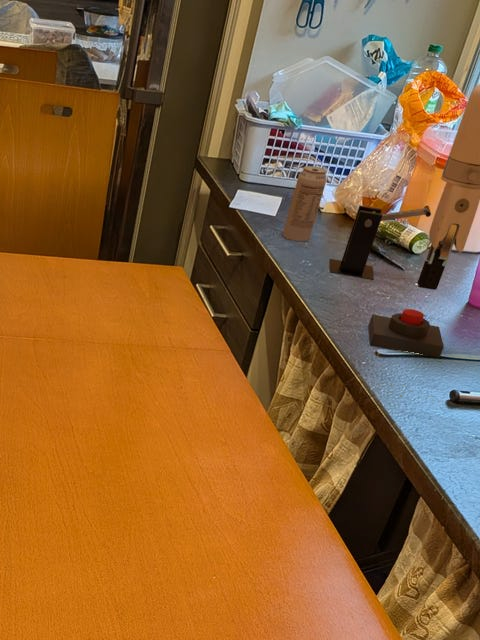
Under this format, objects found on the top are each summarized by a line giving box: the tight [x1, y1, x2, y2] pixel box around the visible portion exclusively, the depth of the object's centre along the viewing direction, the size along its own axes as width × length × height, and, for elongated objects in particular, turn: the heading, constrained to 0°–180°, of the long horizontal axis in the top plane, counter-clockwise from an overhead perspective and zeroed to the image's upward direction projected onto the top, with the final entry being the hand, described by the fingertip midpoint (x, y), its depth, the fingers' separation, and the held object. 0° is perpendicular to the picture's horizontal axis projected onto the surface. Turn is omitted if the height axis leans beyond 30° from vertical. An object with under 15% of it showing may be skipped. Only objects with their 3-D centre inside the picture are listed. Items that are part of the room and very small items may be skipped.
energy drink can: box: [282, 165, 328, 243], centre depth 204 cm, size 6×6×15 cm
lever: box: [371, 205, 432, 222], centre depth 186 cm, size 13×5×2 cm, turn 74°
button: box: [400, 308, 425, 325], centre depth 165 cm, size 4×4×2 cm
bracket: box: [328, 204, 383, 281], centre depth 191 cm, size 9×9×13 cm
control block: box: [367, 312, 445, 359], centre depth 167 cm, size 12×10×4 cm
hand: (426, 286), depth 161 cm, fingers closed
